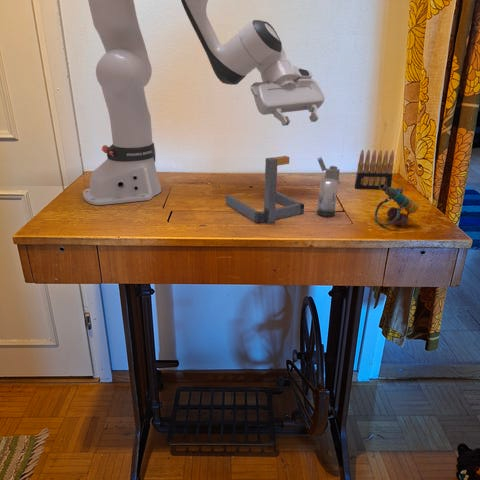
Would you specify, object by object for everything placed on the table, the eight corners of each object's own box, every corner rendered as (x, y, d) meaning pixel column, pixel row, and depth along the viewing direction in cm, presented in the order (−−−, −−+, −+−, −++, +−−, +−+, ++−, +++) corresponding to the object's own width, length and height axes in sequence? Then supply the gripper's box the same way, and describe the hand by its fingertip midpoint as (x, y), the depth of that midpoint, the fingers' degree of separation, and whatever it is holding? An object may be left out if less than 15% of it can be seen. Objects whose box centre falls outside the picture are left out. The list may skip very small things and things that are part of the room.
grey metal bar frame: (260, 225, 107) (262, 161, 101) (225, 203, 122) (225, 146, 115) (307, 215, 114) (311, 154, 107) (269, 195, 128) (271, 140, 122)
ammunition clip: (389, 188, 136) (395, 149, 131) (390, 190, 134) (396, 150, 129) (354, 187, 136) (358, 148, 131) (355, 189, 135) (360, 150, 130)
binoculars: (399, 238, 106) (426, 204, 104) (372, 220, 103) (399, 185, 101) (382, 223, 115) (406, 192, 112) (356, 207, 112) (381, 174, 109)
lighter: (337, 181, 141) (340, 157, 138) (338, 183, 140) (340, 158, 137) (315, 181, 142) (317, 156, 139) (315, 182, 141) (317, 157, 137)
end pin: (324, 218, 112) (327, 184, 108) (313, 212, 116) (316, 179, 112) (338, 215, 114) (342, 181, 110) (326, 209, 118) (329, 177, 114)
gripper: (252, 74, 113) (273, 118, 109) (315, 70, 122) (336, 111, 118) (244, 91, 118) (263, 133, 115) (304, 86, 128) (324, 125, 124)
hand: (301, 122), depth 117 cm, fingers open, 8 cm apart
